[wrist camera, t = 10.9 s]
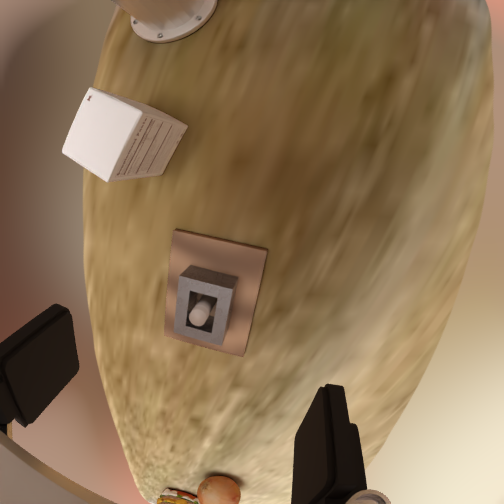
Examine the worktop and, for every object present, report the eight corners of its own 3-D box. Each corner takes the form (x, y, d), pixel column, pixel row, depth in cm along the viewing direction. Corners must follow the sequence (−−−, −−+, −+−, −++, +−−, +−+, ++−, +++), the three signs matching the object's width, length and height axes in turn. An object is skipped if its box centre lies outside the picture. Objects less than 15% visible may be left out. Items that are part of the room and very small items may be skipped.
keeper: (176, 228, 37) (154, 241, 31) (267, 249, 37) (262, 266, 30) (166, 332, 42) (149, 356, 36) (244, 353, 41) (236, 381, 35)
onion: (219, 464, 51) (209, 500, 42) (252, 482, 52) (246, 516, 43) (194, 473, 54) (183, 505, 44) (225, 490, 55) (218, 521, 45)
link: (190, 264, 37) (179, 275, 34) (238, 276, 37) (232, 289, 33) (183, 317, 40) (173, 332, 36) (228, 329, 39) (221, 346, 36)
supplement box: (121, 152, 36) (58, 152, 23) (146, 103, 33) (88, 83, 21) (162, 177, 36) (106, 185, 24) (190, 126, 34) (142, 109, 22)
